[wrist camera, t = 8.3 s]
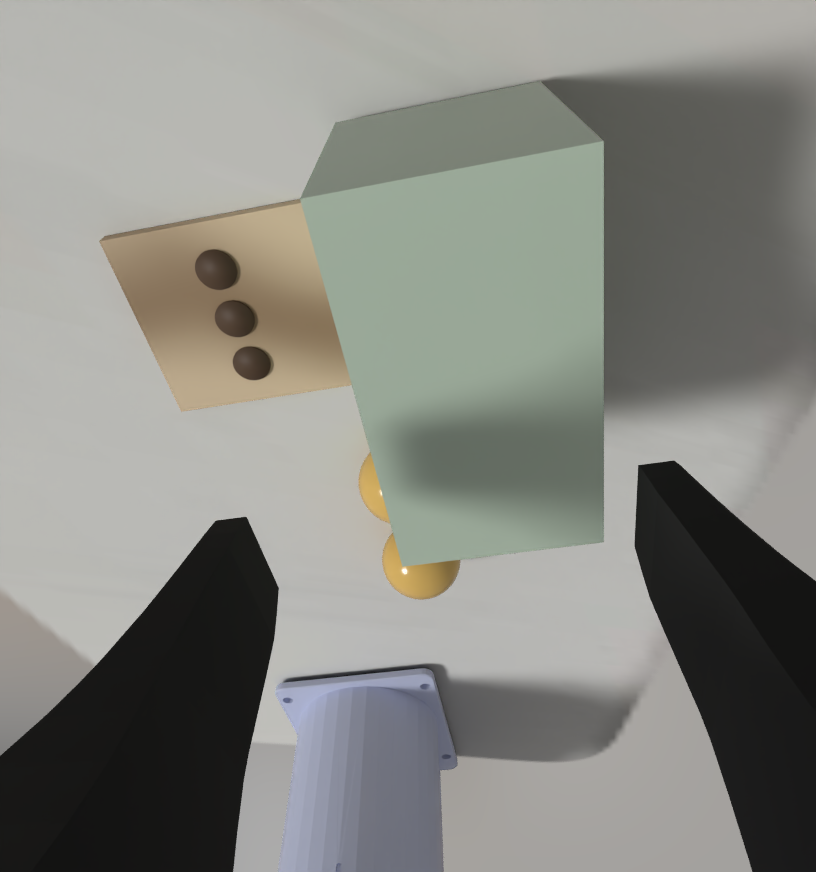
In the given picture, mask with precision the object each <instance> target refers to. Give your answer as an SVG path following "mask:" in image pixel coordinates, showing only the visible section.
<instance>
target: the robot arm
mask: <svg viewBox="0 0 816 872" xmlns="http://www.w3.org/2000/svg"><path fill="white" fill-rule="evenodd" d="M635 549H636V553H637V556H638V560H639V563H640V566H641V570H642V573H643V577H644V580H645V583H646V586H647V590H648V593H649V596H650V599H651V601H652V604H653V606H654V608H655V611H656V613H657V615H658V618H659V620H660V622H661V625H662V627H663V629H664V632H665V634H666V636H667V639H668V641H669V643H670V645H671V648H672V650H673V652H674V655H675V657H676V659H677V661H678V664H679V666H680V668H681V671H682V673H683V675H684V677H685V679H686V682H687V684H688V687H689V689H690V691H691V693H692V696H693V698H694V700H695V703H696V705H697V707H698V709H699V712H700V714H701V716H702V719H703V721H704V724H705V727H706V729H707V732H708V734H709V737H710V740H711V743H712V746H713V749H714V751H715V755H716V757H717V761H718V764H719V767H720V770H721V773H722V776H723V779H724V782H725V785H726V788H727V791H728V794H729V797H730V801H731V804H732V807H733V810H734V813H735V817H736V819H737V823H738V826H739V829H740V832H741V835H742V839H743V842H744V845H745V849H746V852H747V855H748V858H749V861H750V865H751V868H752V872H816V581H815V580H813V579H812V578H811V577H810V576H808V575H807V574H806V573H804V572H803V571H802V570H800V569H799V568H798V567H796V566H795V565H794V564H793V563H791V562H790V561H789V560H788V559H786V558H785V557H784V556H782V555H781V554H780V553H779V552H777V551H776V550H775V549H774V548H772V547H771V546H770V545H769V544H768V543H766V542H765V541H764V540H763V539H762V538H760V537H759V536H758V535H757V534H756V533H755V532H753V531H752V530H751V529H750V528H749V527H748V526H746V525H745V524H744V523H743V522H742V521H741V520H739V519H738V518H737V517H736V516H735V515H734V514H733V513H731V512H730V511H729V510H728V509H727V508H726V507H725V506H724V505H723V504H721V503H720V502H719V501H718V500H717V499H716V498H715V497H714V496H713V495H712V494H710V493H709V492H708V491H707V490H706V489H705V488H704V487H703V486H702V485H701V484H700V483H699V482H698V481H696V480H695V479H694V478H693V477H692V476H691V475H690V474H689V473H688V472H687V471H686V470H685V469H684V468H683V467H682V466H681V465H679V464H678V463H677V462H675V461H668V462H660V463H652V464H645V465H638V485H637V506H636V528H635ZM278 590H279V588H278V586H277V583H276V581H275V579H274V577H273V575H272V572H271V570H270V568H269V566H268V563H267V561H266V559H265V557H264V555H263V552H262V550H261V548H260V546H259V544H258V541H257V539H256V537H255V535H254V533H253V530H252V528H251V526H250V524H249V522H248V519H247V517H241V518H234V519H226V520H218V521H215V522H214V524H213V525H212V526H211V527H210V528H209V530H208V531H207V532H206V533H205V535H204V536H203V537H202V538H201V540H200V541H199V542H198V543H197V545H196V546H195V547H194V549H193V550H192V551H191V553H190V554H189V555H188V556H187V558H186V559H185V560H184V562H183V563H182V564H181V565H180V567H179V568H178V569H177V571H176V572H175V573H174V574H173V576H172V577H171V578H170V579H169V581H168V582H167V583H166V584H165V586H164V587H163V588H162V589H161V591H160V592H159V593H158V594H157V596H156V597H155V598H154V599H153V600H152V602H151V603H150V604H149V605H148V607H147V608H146V609H145V610H144V612H143V613H142V614H141V615H140V616H139V617H138V618H137V620H136V621H135V622H134V623H133V624H132V625H131V626H130V628H129V629H128V630H127V631H126V632H125V633H124V634H123V636H122V637H121V638H120V639H119V640H118V641H117V642H116V644H115V645H114V646H113V647H112V648H111V649H110V650H109V652H108V653H107V654H106V655H105V656H104V657H103V658H102V659H101V661H100V662H99V663H98V664H97V665H96V666H95V667H94V668H93V669H92V670H91V671H90V672H89V673H88V674H87V675H86V676H85V678H84V679H82V681H81V682H80V683H79V684H78V685H77V686H76V687H75V688H74V689H72V691H71V692H70V693H69V694H67V695H66V697H64V698H63V699H62V700H61V701H60V702H59V703H58V704H57V705H56V706H55V707H54V708H53V709H52V710H51V711H50V712H49V713H48V714H47V715H46V716H45V717H44V718H43V719H41V720H40V721H39V722H38V723H37V724H36V725H35V726H34V727H32V728H31V729H30V730H29V731H28V732H27V733H26V734H25V735H24V736H22V737H21V738H20V739H19V740H18V741H17V742H15V743H14V744H13V745H12V746H11V747H10V748H9V749H8V750H7V751H5V752H4V753H3V754H2V755H1V756H0V872H233V866H234V857H235V848H236V838H237V829H238V821H239V814H240V806H241V798H242V790H243V782H244V776H245V769H246V765H247V759H248V754H249V749H250V745H251V741H252V736H253V732H254V727H255V723H256V718H257V714H258V710H259V705H260V701H261V696H262V692H263V688H264V683H265V679H266V674H267V670H268V665H269V660H270V656H271V651H272V646H273V642H274V635H275V625H276V616H277V603H278ZM275 695H276V697H277V699H278V700H279V702H280V704H281V706H282V708H283V709H284V711H285V713H286V715H287V717H288V719H289V720H290V722H291V724H292V726H293V728H294V729H295V731H296V733H297V735H298V737H297V744H296V750H295V757H294V764H293V771H292V778H291V785H290V792H289V798H288V805H287V813H286V819H285V826H284V833H283V839H282V847H281V853H280V860H279V867H278V872H444V868H443V842H442V841H443V840H442V812H441V784H440V770H448V769H453V768H455V767H456V766H457V757H456V753H455V749H454V746H453V742H452V738H451V735H450V731H449V728H448V724H447V720H446V717H445V713H444V710H443V706H442V702H441V699H440V695H439V691H438V688H437V684H436V681H435V677H434V673H433V672H432V671H431V670H429V669H426V668H420V669H410V670H401V671H391V672H381V673H372V674H362V675H352V676H343V677H333V678H324V679H314V680H304V681H295V682H285V683H280V684H279V685H277V687H276V691H275Z"/></svg>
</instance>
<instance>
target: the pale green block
mask: <svg viewBox="0 0 816 872" xmlns="http://www.w3.org/2000/svg"><path fill="white" fill-rule="evenodd" d="M300 201H301V204H302V208H303V211H304V215H305V219H306V222H307V226H308V229H309V233H310V237H311V240H312V244H313V247H314V251H315V255H316V258H317V262H318V265H319V269H320V273H321V276H322V280H323V283H324V287H325V290H326V294H327V298H328V301H329V305H330V308H331V312H332V316H333V319H334V323H335V326H336V330H337V334H338V337H339V341H340V344H341V348H342V352H343V355H344V359H345V362H346V366H347V369H348V373H349V377H350V380H351V384H352V387H353V391H354V395H355V398H356V402H357V405H358V409H359V413H360V416H361V420H362V423H363V427H364V431H365V434H366V438H367V441H368V445H369V448H370V452H371V456H372V459H373V463H374V466H375V470H376V474H377V477H378V481H379V484H380V488H381V492H382V495H383V499H384V502H385V506H386V510H387V513H388V517H389V520H390V524H391V527H392V531H393V535H394V538H395V542H396V545H397V549H398V553H399V556H400V560H401V563H402V567H404V566H412V565H420V564H429V563H437V562H445V561H453V560H462V559H470V558H478V557H486V556H494V555H503V554H511V553H519V552H527V551H535V550H544V549H552V548H560V547H568V546H577V545H585V544H593V543H601V542H604V141H603V140H602V139H601V138H600V137H599V136H598V135H597V134H596V133H595V132H594V131H593V130H592V129H591V128H589V127H588V126H587V125H586V124H585V123H584V122H583V121H582V120H581V119H580V118H579V117H578V116H577V115H576V114H575V113H573V112H572V111H571V110H570V109H569V108H568V107H567V106H566V105H565V104H564V103H563V102H562V101H561V100H560V99H559V98H557V97H556V96H555V95H554V94H553V93H552V92H551V91H550V90H549V89H548V88H547V87H546V86H545V85H544V84H543V83H541V82H540V81H538V82H533V83H528V84H523V85H518V86H513V87H508V88H504V89H499V90H494V91H489V92H484V93H479V94H474V95H469V96H464V97H459V98H454V99H449V100H444V101H440V102H435V103H430V104H425V105H420V106H415V107H410V108H405V109H400V110H395V111H390V112H385V113H380V114H376V115H371V116H366V117H361V118H356V119H351V120H346V121H341V122H336V123H335V125H334V127H333V129H332V131H331V133H330V136H329V138H328V140H327V142H326V144H325V146H324V148H323V151H322V153H321V155H320V157H319V159H318V161H317V163H316V166H315V168H314V170H313V172H312V174H311V176H310V178H309V181H308V183H307V185H306V187H305V189H304V191H303V194H302V196H301V198H300Z"/></svg>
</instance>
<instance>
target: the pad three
mask: <svg viewBox="0 0 816 872" xmlns="http://www.w3.org/2000/svg"><path fill="white" fill-rule="evenodd" d="M99 242H100V244H101V246H102V248H103V250H104V252H105V254H106V256H107V258H108V260H109V263H110V265H111V267H112V269H113V271H114V273H115V275H116V277H117V279H118V281H119V283H120V285H121V287H122V290H123V292H124V294H125V296H126V298H127V300H128V302H129V304H130V306H131V308H132V310H133V312H134V314H135V317H136V319H137V321H138V323H139V325H140V327H141V329H142V331H143V333H144V335H145V337H146V339H147V341H148V344H149V346H150V348H151V350H152V352H153V354H154V356H155V358H156V360H157V362H158V364H159V366H160V368H161V371H162V373H163V375H164V377H165V379H166V381H167V383H168V385H169V387H170V389H171V391H172V393H173V395H174V398H175V400H176V402H177V404H178V406H179V408H180V410H181V412H182V411H189V410H195V409H202V408H208V407H215V406H221V405H227V404H234V403H240V402H247V401H253V400H260V399H266V398H272V397H279V396H285V395H292V394H298V393H305V392H311V391H317V390H324V389H330V388H337V387H343V386H349V385H352V384H351V380H350V377H349V373H348V369H347V366H346V362H345V359H344V355H343V352H342V348H341V344H340V341H339V337H338V334H337V330H336V326H335V323H334V319H333V316H332V312H331V308H330V305H329V301H328V298H327V294H326V290H325V287H324V283H323V280H322V276H321V273H320V269H319V265H318V262H317V258H316V255H315V251H314V247H313V244H312V240H311V237H310V233H309V229H308V226H307V222H306V219H305V215H304V211H303V208H302V204H301V201H300V199H298V200H293V201H288V202H282V203H277V204H272V205H267V206H261V207H256V208H251V209H246V210H240V211H235V212H230V213H225V214H220V215H214V216H209V217H204V218H199V219H193V220H188V221H183V222H178V223H172V224H167V225H162V226H157V227H151V228H146V229H141V230H136V231H130V232H125V233H120V234H115V235H109V236H105V237H103V238H102V239H101V240H100V241H99Z"/></svg>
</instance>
